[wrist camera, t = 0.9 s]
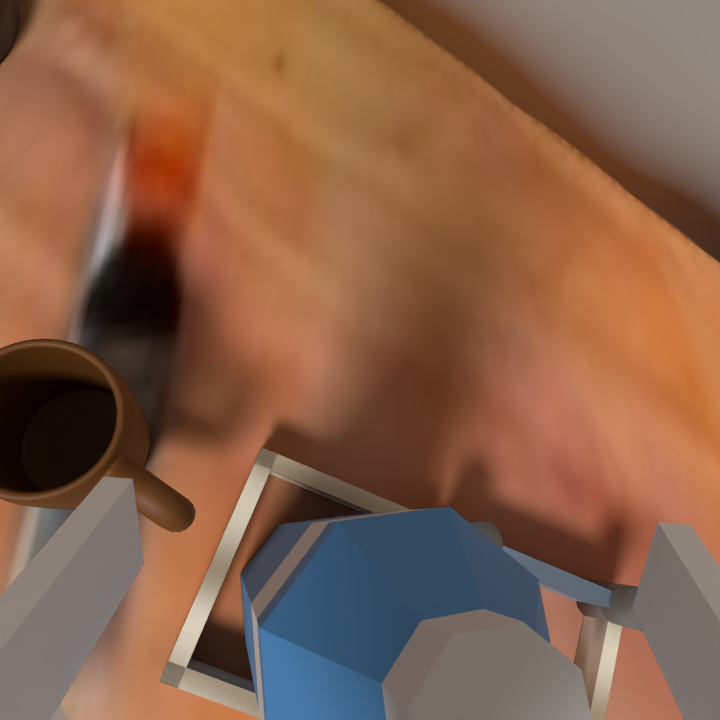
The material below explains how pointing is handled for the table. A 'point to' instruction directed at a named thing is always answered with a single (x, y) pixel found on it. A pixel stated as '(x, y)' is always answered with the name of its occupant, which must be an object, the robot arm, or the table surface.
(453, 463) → the table surface
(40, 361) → the mug
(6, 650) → the robot arm
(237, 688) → the frame
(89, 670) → the table surface
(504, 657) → the water bottle
